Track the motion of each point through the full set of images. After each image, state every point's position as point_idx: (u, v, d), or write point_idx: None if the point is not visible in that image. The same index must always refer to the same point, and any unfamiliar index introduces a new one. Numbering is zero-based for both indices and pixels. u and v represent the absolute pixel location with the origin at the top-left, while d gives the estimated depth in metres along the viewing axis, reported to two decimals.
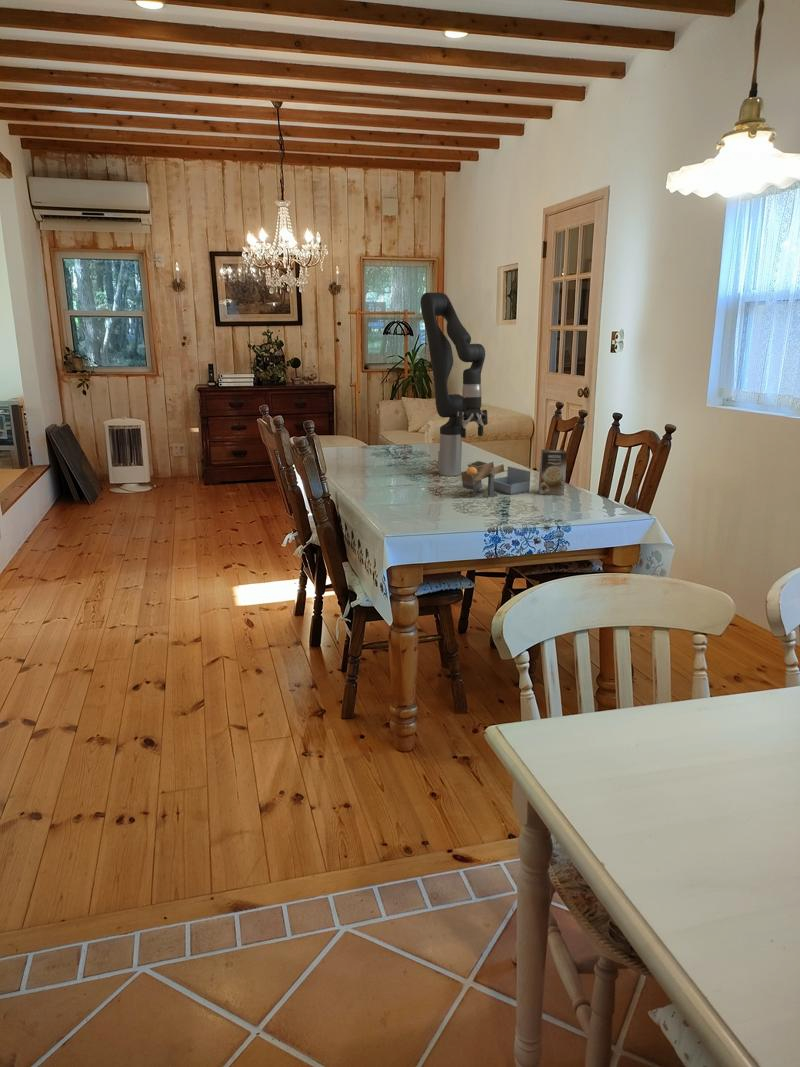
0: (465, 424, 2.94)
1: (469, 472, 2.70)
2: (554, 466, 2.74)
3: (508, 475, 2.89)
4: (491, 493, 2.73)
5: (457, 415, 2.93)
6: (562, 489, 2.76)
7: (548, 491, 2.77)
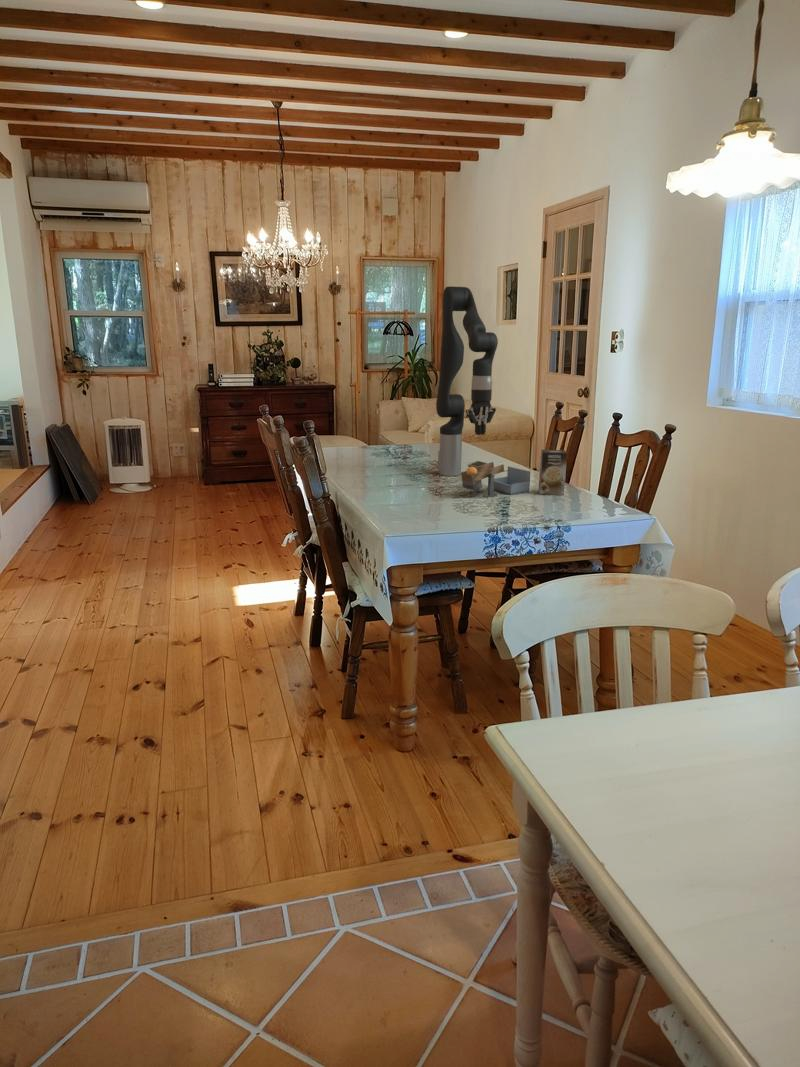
0: (479, 420, 2.78)
1: (469, 472, 2.70)
2: (554, 466, 2.74)
3: (508, 475, 2.89)
4: (491, 493, 2.73)
5: (467, 414, 2.76)
6: (562, 489, 2.76)
7: (548, 491, 2.77)
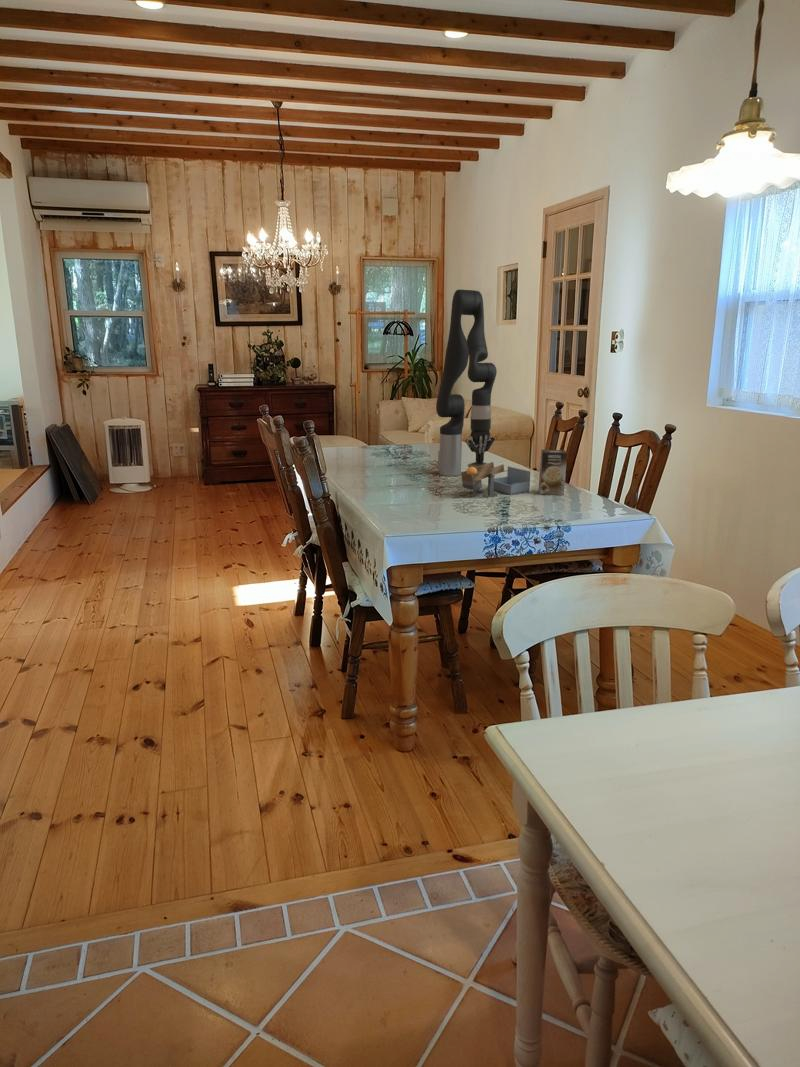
0: (479, 449, 2.81)
1: (469, 472, 2.70)
2: (554, 466, 2.74)
3: (508, 475, 2.89)
4: (491, 493, 2.73)
5: (468, 443, 2.79)
6: (562, 489, 2.76)
7: (548, 491, 2.77)
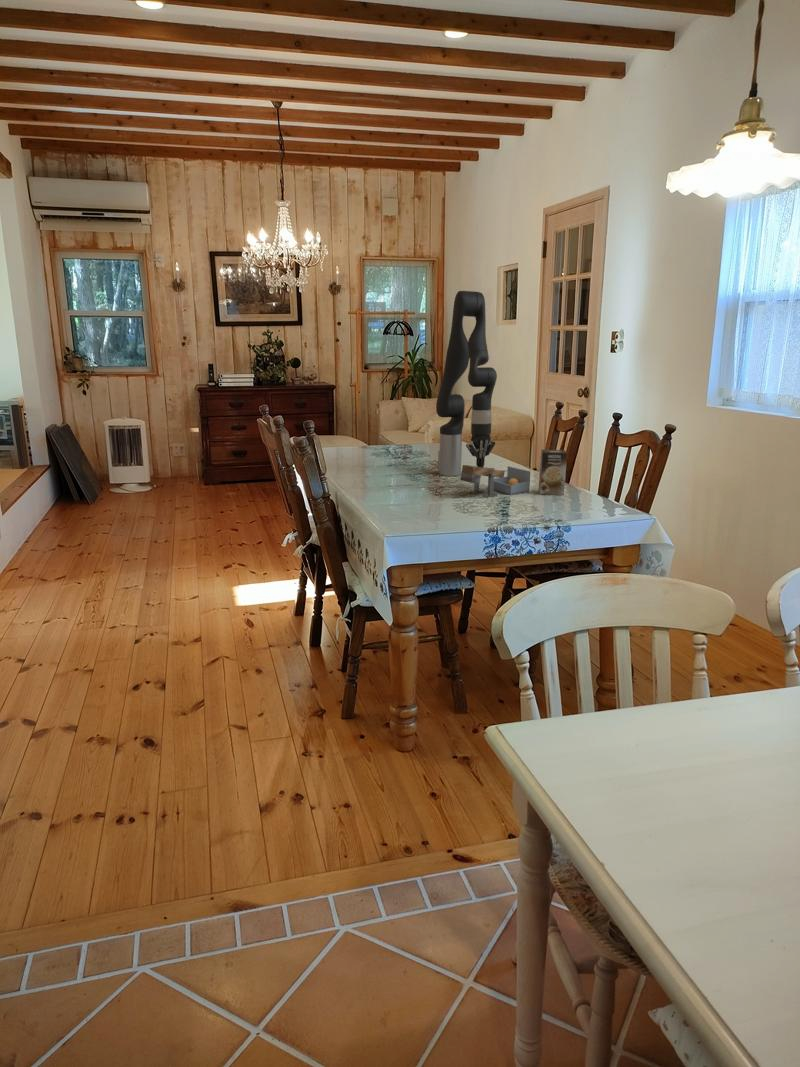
0: (480, 453, 2.82)
1: None
2: (554, 466, 2.74)
3: (508, 475, 2.89)
4: (491, 493, 2.73)
5: (468, 448, 2.80)
6: (562, 489, 2.76)
7: (548, 491, 2.77)
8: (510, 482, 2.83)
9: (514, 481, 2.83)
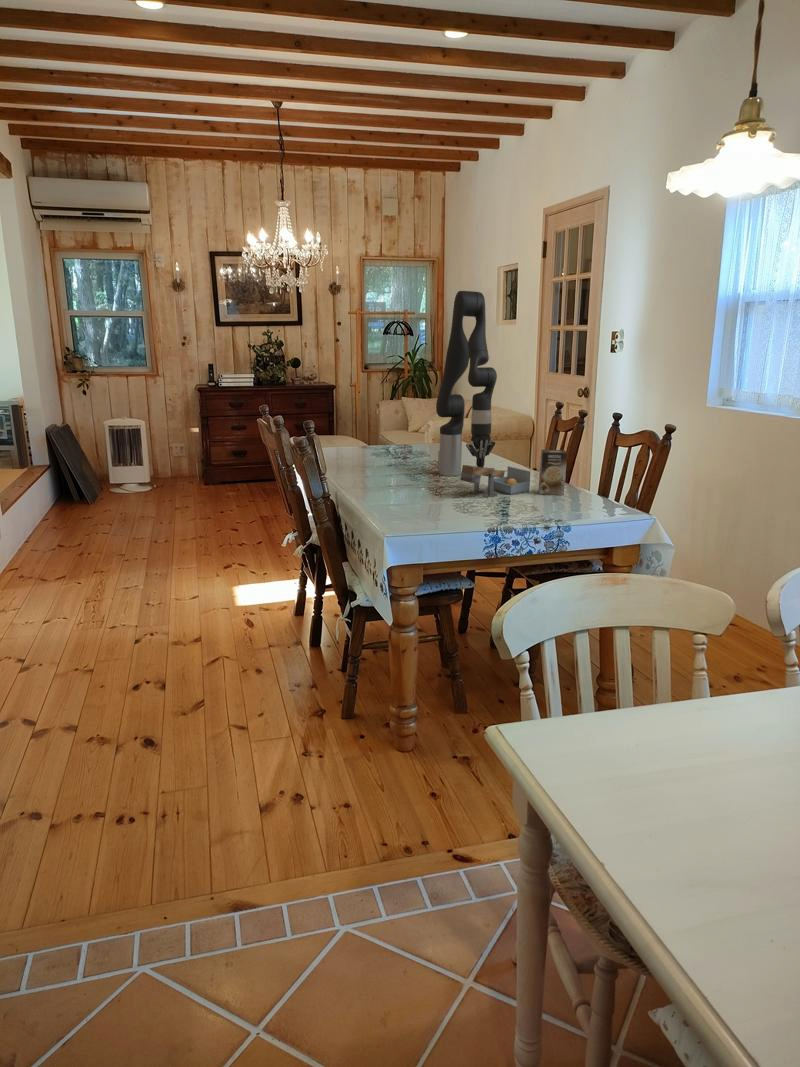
0: (480, 453, 2.82)
1: None
2: (554, 466, 2.74)
3: (508, 475, 2.89)
4: (491, 493, 2.73)
5: (468, 448, 2.80)
6: (562, 489, 2.76)
7: (548, 491, 2.77)
8: (508, 484, 2.83)
9: (512, 482, 2.82)
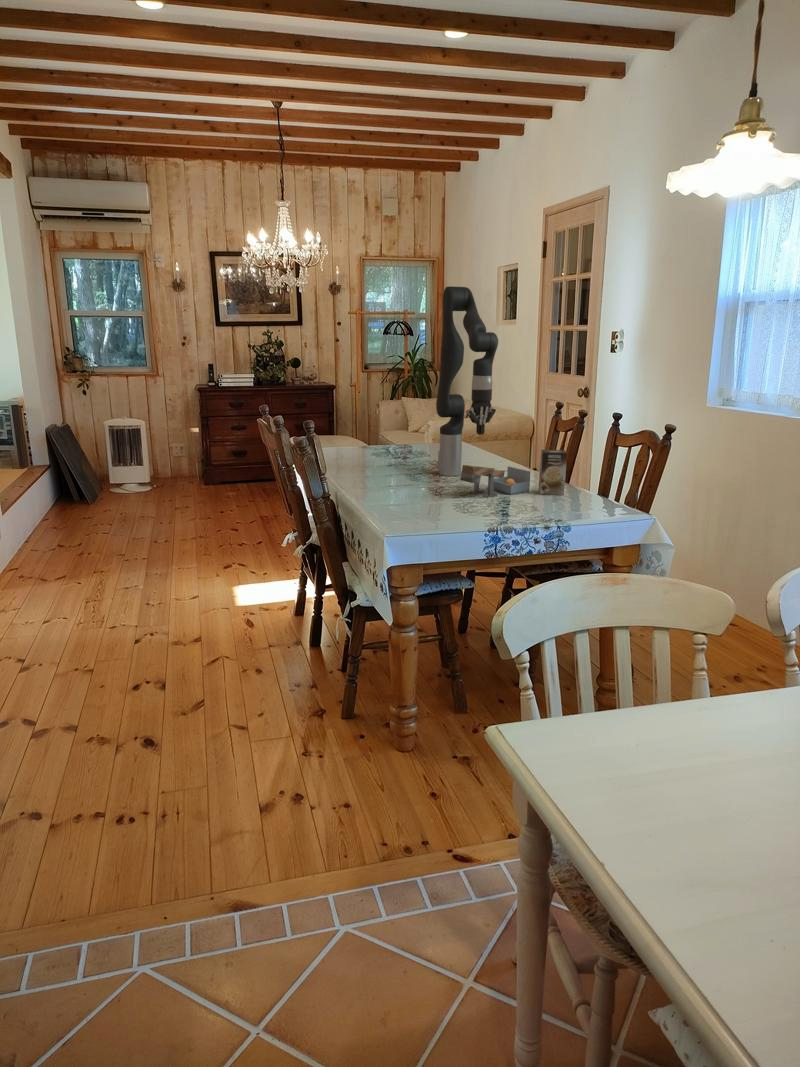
0: (480, 420, 2.78)
1: None
2: (554, 466, 2.74)
3: (508, 475, 2.89)
4: (491, 493, 2.73)
5: (468, 414, 2.77)
6: (562, 489, 2.76)
7: (548, 491, 2.77)
8: None
9: (510, 484, 2.82)
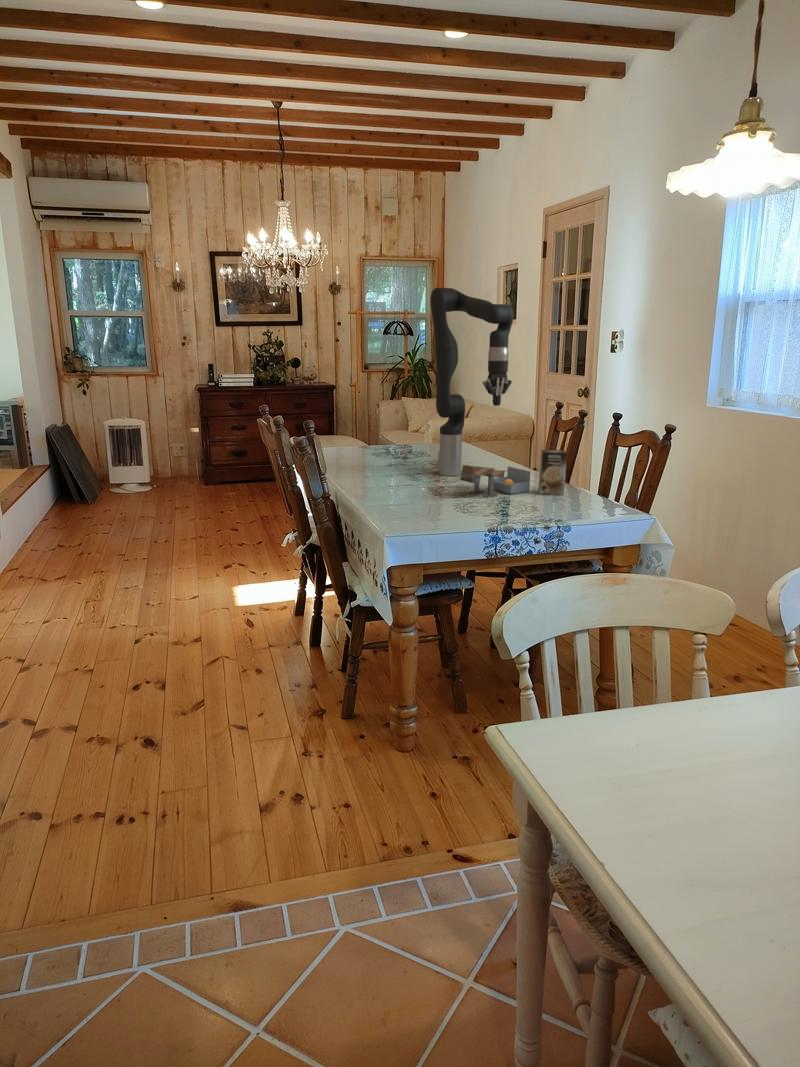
0: (497, 391, 2.84)
1: None
2: (554, 466, 2.74)
3: (508, 475, 2.89)
4: (491, 493, 2.73)
5: (485, 385, 2.82)
6: (562, 489, 2.76)
7: (548, 491, 2.77)
8: None
9: None
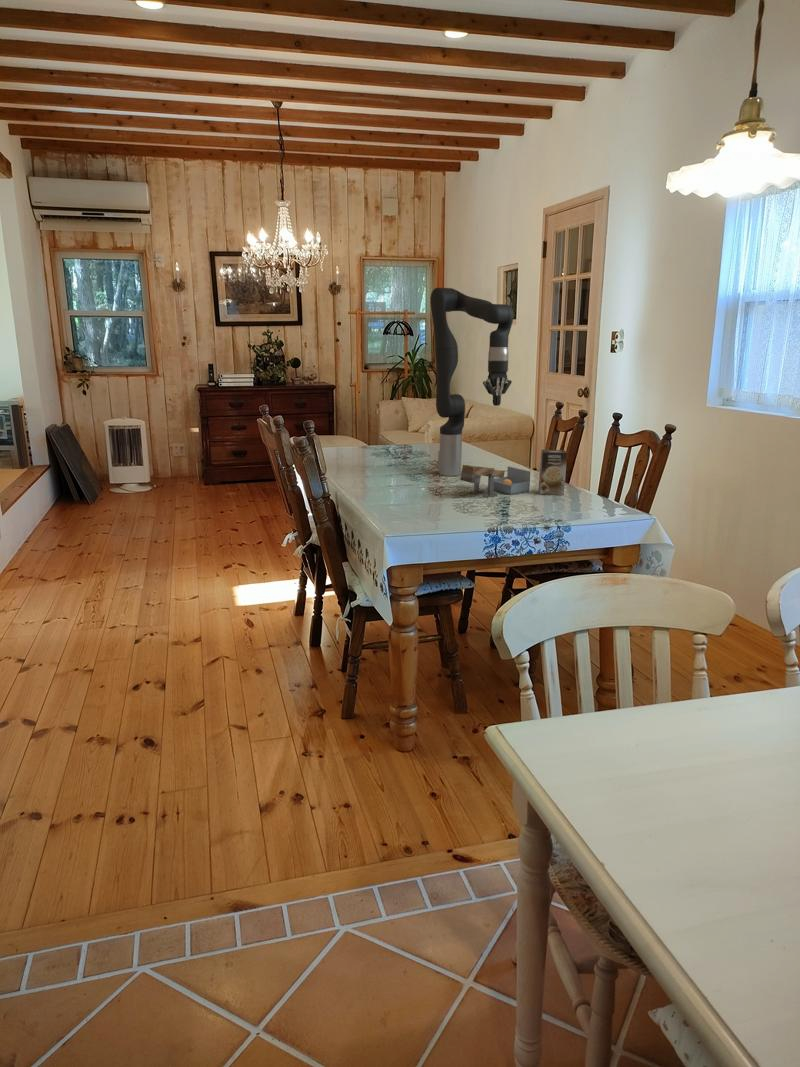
0: (497, 391, 2.84)
1: (511, 482, 2.83)
2: (554, 466, 2.74)
3: (508, 475, 2.89)
4: (491, 493, 2.73)
5: (485, 385, 2.82)
6: (562, 489, 2.76)
7: (548, 491, 2.77)
8: None
9: None
